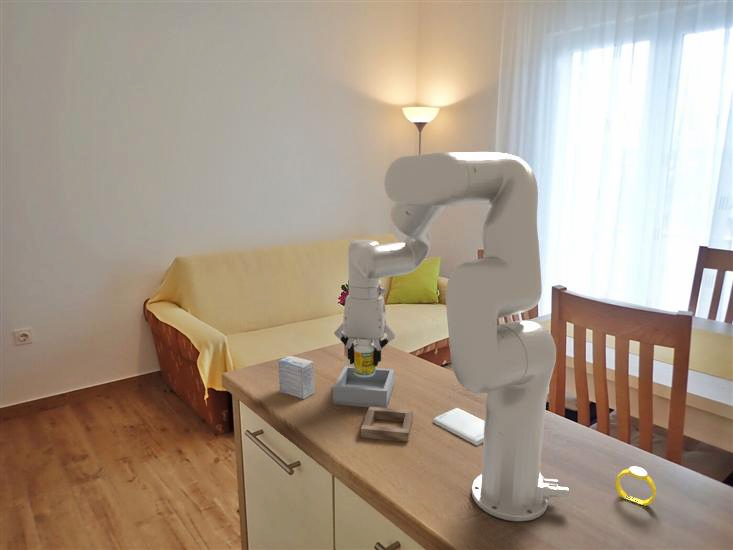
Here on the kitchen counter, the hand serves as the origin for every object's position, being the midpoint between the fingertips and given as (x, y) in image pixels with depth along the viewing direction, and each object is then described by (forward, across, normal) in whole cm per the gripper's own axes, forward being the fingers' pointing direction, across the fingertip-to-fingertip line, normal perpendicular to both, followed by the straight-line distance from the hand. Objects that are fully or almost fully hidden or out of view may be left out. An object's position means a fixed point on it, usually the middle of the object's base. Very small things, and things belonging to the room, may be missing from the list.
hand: (364, 362), depth 126 cm
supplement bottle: (+3, 0, 0) cm, 3 cm away
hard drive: (+9, -25, +12) cm, 29 cm away
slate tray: (+9, 0, 0) cm, 9 cm away
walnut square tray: (+8, -8, +15) cm, 19 cm away
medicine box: (+9, +17, +2) cm, 19 cm away
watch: (+9, -53, +32) cm, 63 cm away
